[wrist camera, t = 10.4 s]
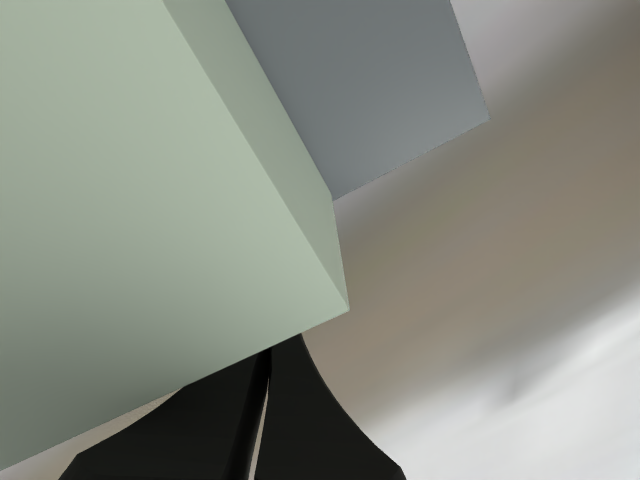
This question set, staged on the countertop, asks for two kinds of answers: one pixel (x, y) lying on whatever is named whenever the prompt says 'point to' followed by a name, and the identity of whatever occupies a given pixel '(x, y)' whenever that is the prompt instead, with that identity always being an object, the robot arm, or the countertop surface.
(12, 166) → the block
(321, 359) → the countertop surface
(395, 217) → the countertop surface
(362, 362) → the countertop surface
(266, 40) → the plate
